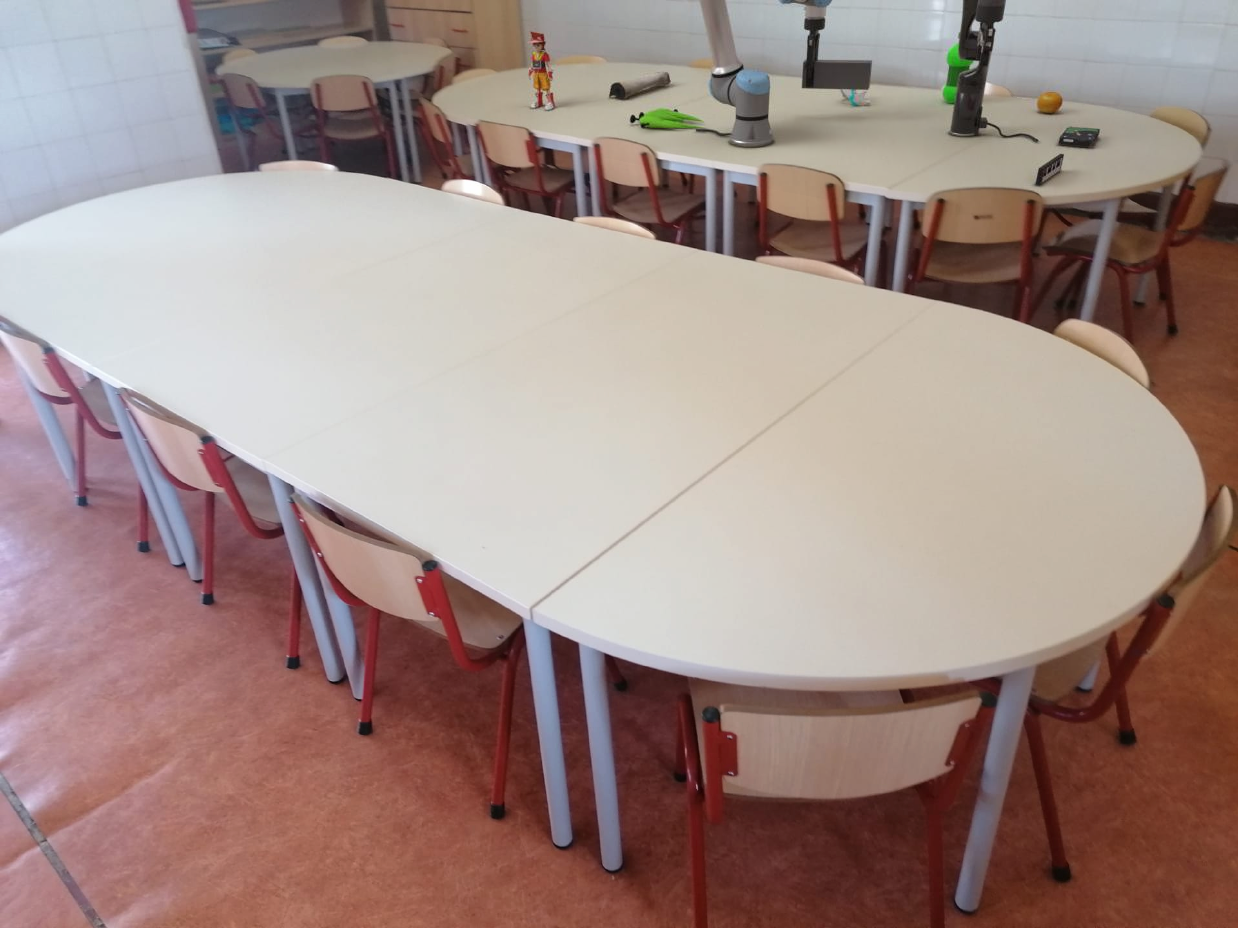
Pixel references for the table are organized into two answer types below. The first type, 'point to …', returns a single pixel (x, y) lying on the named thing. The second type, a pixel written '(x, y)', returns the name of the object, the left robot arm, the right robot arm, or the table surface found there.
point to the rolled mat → (638, 84)
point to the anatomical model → (855, 96)
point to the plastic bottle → (954, 73)
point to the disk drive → (1079, 136)
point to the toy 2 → (664, 119)
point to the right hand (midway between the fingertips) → (981, 63)
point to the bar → (840, 74)
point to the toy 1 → (541, 71)
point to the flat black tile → (1049, 169)
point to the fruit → (1049, 102)
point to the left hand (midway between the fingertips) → (810, 85)
